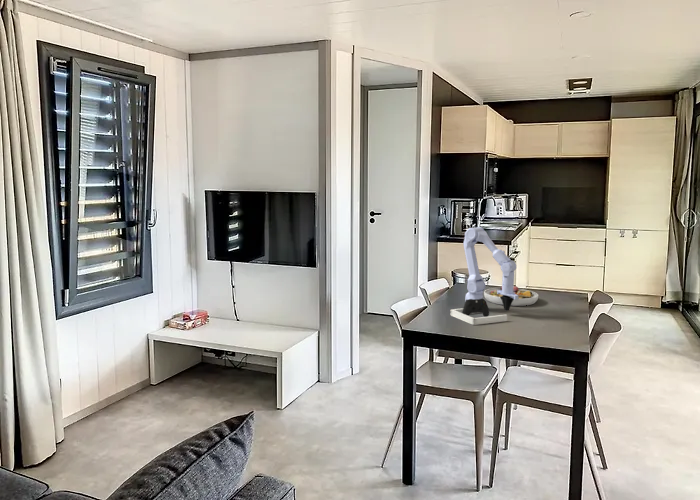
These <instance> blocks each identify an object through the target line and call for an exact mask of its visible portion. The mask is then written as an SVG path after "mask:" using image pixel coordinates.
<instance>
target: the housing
mask: <svg viewBox="0 0 700 500" xmlns="http://www.w3.org/2000/svg"><path fill="white" fill-rule="evenodd" d="M462 310H463V308H454V309H453V308H452V309H450V312H449V313H450V314H449V315H450V316H451V317H452V318H453V317H454V318H456V319H458V320H461V321H463V322H466V323H468V324H471V325H473V326H475V325H476V326H477V325H484V324H491V323H500V322H507V321H508V315H507V314H498V315H489V316H488V317H484V316H482V317H481V316H480V317H472V316H470V315H472V314H474V313H471V314H470V315H469V316H468V315H465V314H463V313H462Z"/></svg>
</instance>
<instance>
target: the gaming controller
mask: <svg viewBox="0 0 700 500" xmlns="http://www.w3.org/2000/svg"><path fill="white" fill-rule="evenodd" d="M462 307H463V310H462V313H463V314H465V315H468V316H470V315H472V314H471V313H473V314H480V313H481V314H482V315H483V317H488V316H490V310H489V306H488V304H487V300H486V299H484V298H483V299H468V300H466V302H464V304H463V306H462Z"/></svg>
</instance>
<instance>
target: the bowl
mask: <svg viewBox="0 0 700 500" xmlns="http://www.w3.org/2000/svg"><path fill="white" fill-rule="evenodd" d="M497 290H502V285H501V287H495V288H494V287H493V288H487V289H484V290H483V297H484V298H485V300H486V301H487V302H490V303H492V304H495V305H500V306H503V302H502V300H501V298H500V297H501V296H503V295H501V294H497ZM513 292H514V293H515V294H516V295H518V299H514V300H513V301H512V303H511V306H510V307H527V306H531V305H533V304H535V303H536V302H538V299H539V294H538V293H537V292H535V291H532V290H530V289H529V290H527V289H522V288H519V287H518V286H516V285H514V288H513ZM526 305H527V306H526Z"/></svg>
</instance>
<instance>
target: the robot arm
mask: <svg viewBox="0 0 700 500" xmlns="http://www.w3.org/2000/svg"><path fill="white" fill-rule="evenodd" d="M478 242H480V243H483V244H484V246H486V248H487V249H488V250H489V251H490V252H491V254H492V258H493V259H494V260H495V261H496V262H497V264H498V265H499V266H500V270H501V272H502V276H501V277H502V278H501V279H502V282H501V286H502V290H497V294H501V295H503V296H501V297H500V298H501V300H502V302H503V305H502V306H503V309H504V311H505V312H507V311H510V309H511V307H512V306H511V303H512V301H513V300H514V299H518V295H516V294H515V293H514V292H513V288H514V286H515V285H514V284H515V271H516V269H517V264H516V262H515V261H514V260H511V258H510V257H508V256H507V254H506V253H505V250H502V249H500V248H498V247H497V245H496V244H495V243H494V242H493V240H492V239H491V237H489V235H488V232H487V231H485V229H484V228H483V227H482V226H476V227H469V228H468V229H467V230H466V231H465V232H464V239H463V249H464V254H465V259H466V265H467V266H466V267H467V270H468V278H467V287H466V289H467V291H468V292H467V293H465V298H464V299H465V302H466V300H468V299H484V291H485V290H486V282H485V281H484V278H483V276H482V275H481V274H480V269H479V264H478V259H477V254H476V249H475V245H476V244H477V243H478ZM465 302H464V303H465Z"/></svg>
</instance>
